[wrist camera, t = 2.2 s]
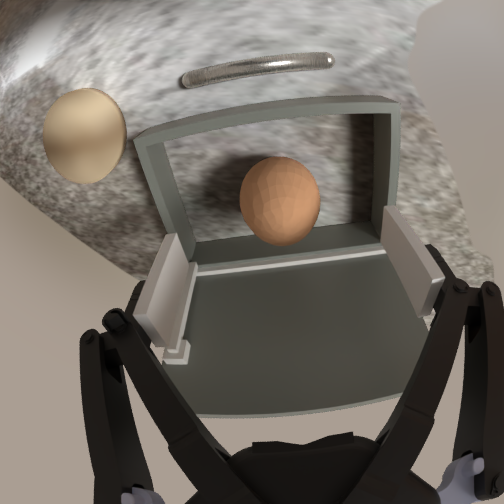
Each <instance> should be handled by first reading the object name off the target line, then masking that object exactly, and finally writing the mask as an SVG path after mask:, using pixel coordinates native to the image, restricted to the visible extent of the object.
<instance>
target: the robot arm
mask: <svg viewBox="0 0 504 504" xmlns="http://www.w3.org/2000/svg"><path fill="white" fill-rule="evenodd" d="M380 242H381V244H382V246H383V248H384V250H385V251H386V253H387V255H388V257H389V259H390V261H391V263H392V265H393V266H394V268H395V270H396V272H397V274H398V276H399V278H400V280H401V282H402V284H403V286H404V288H405V291H406V293H407V295H408V297H409V299H410V301H411V303H412V305H413V308H414V310H415V312H416V314H417V317H418V318H420V317H424V316H428V315H430V314H431V311H432V309H433V308H434V310H435V312H436V314H435V316H434V318H433V321H432V323H431V325H430V326H431V328H430V331H429V333H428V336H427V339H426V341H425V344H424V346H423V349H422V352H421V354H420V356H419V359H418V361H417V364H416V366H415V368H414V370H413V373H412V375H411V377H410V379H409V381H408V383H407V385H406V388H405V390H404V392H403V394H402V396H401V398H400V400H399V402H398V403H397V405H396V407H395V409H394V411H393V413H392V415H391V416H390V418H389V420H388V422H387V423H386V425H385V426H384V428H383V429H382V431H381V432H380V433H379V435H378V437H377V438H376V440H375V441H373V440H370V439H368V438H365V437H360V436H353V432H348V433H343V434H337V435H331V436H327V437H324V438H322V439H319V440H316V441H313V442H311V443H308V444H305V445H299V444H291V443H285V442H279V441H272V442H271V441H270V442H253V443H252V447H248V448H245V449H243V450H241V451H239V452H237V453H236V454H234V455H233V456H231V455H230V454H229V453H228V452H227V451H226V450H225V449H224V448H223V447H222V446H221V445H220V444H219V443H218V441H217V440H216V439H215V438H214V437H213V436H212V434H211V433H210V432H209V431H208V430H207V428H206V427H205V426H204V424H203V423H202V422H201V421H200V419H199V418H198V417H197V415H196V414H195V413H194V411H193V410H192V409H191V407H190V406H189V405H188V403H187V402H186V400H185V399H184V398H183V396H182V395H181V393H180V392H179V391H178V389H177V388H176V386H175V385H174V383H173V382H172V380H171V379H170V377H169V376H168V374H167V373H166V371H165V370H164V368H163V367H162V365H161V364H160V362H159V361H158V359H157V357H156V356H155V354H154V353H153V351H152V349H151V348H150V344H151V341H152V343H153V344H154V345H155V347H169V342H170V338H171V334H172V330H173V326H174V322H175V318H176V314H177V310H178V306H179V302H180V298H181V294H182V291H183V287H184V283H185V280H186V276H187V272H188V269H189V263H188V261H187V258H186V256H185V253H184V251H183V248H182V246H181V243H180V241H179V238H178V235H177V233H172V234H166V235H165V237H164V240H163V242H162V244H161V246H160V249H159V251H158V253H157V255H156V258H155V260H154V262H153V265H152V267H151V270H150V272H149V274H148V277H147V279H146V280H143V281H140V282H139V283H138V284H137V286H135V288H134V290H133V293H132V296H131V298H130V301H129V303H128V305H127V307H126V310H125V312H123V311H122V309H119V308H115V309H112V310H109V311H108V312H107V313H106V314H105V315H104V317H103V319H102V325H103V326H104V327H105V329H106V330H107V332H104V333H101V334H99V333H98V331H96V330H95V329H90V330H87V331H86V332H85V333H84V334H83V335H82V336H81V338H80V380H81V394H82V405H83V414H84V422H85V429H86V436H87V442H88V447H89V453H90V458H91V463H92V468H93V472H94V476H95V480H94V504H165V502H164V501H163V499H162V498H161V496H160V495H159V494H158V493H156V492H154V488H153V483H152V479H151V476H150V472H149V469H148V466H147V463H146V460H145V457H144V454H143V450H142V447H141V443H140V440H139V437H138V433H137V429H136V425H135V421H134V417H133V413H132V409H131V404H130V400H129V395H128V390H127V385H126V381H125V375H124V369H123V365H124V366H125V368H126V370H127V372H128V374H129V376H130V378H131V380H132V382H133V384H134V386H135V388H136V390H137V392H138V394H139V395H140V397H141V399H142V401H143V403H144V405H145V406H146V408H147V410H148V412H149V413H150V415H151V417H152V419H153V420H154V422H155V423H156V425H157V426H158V428H159V430H160V431H161V433H162V435H163V436H164V438H165V439H166V441H167V443H168V445H169V446H168V449H169V452H170V453H171V455H172V456H173V458H174V459H175V461H176V462H177V464H178V465H179V466H180V468H181V469H182V471H183V472H184V473H185V475H186V476H187V477H188V479H189V480H190V481H191V483H192V484H193V485H194V486H195V488H196V489H197V490H198V491H197V492H196V493H195V494H194V495H193V496H192V497H191V498H190V499H189V500H188V501H187V502H186V503H185V504H471V503H473V502H479V501H484V500H489V499H493V498H496V497H499V496H500V495H501V494H503V492H504V307H503V301H502V296H501V292H500V289H499V287H498V286H497V285H496V284H495V283H493V282H490V281H486V282H483V284H482V286H481V288H473V287H469V285H468V284H467V283H466V282H465V281H463V280H462V279H458V278H456V277H455V275H454V274H453V272H452V271H451V269H450V268H449V266H448V265H447V263H446V262H445V260H444V259H443V257H441V254H440V253H439V251H438V250H437V249H436V248H435V247H433V246H432V245H431V244H428V245H424V244H423V242H422V241H421V240H420V238H419V237H418V235H417V234H416V233H415V231H414V230H413V229H412V227H411V226H410V224H409V223H408V222H407V220H406V219H405V218H404V217H403V215H402V214H401V213H400V211H399V210H398V209H397V208H396V206H395V205H390V206H384V211H383V221H382V230H381V239H380ZM464 325H465V361H464V362H465V363H464V380H463V392H462V400H461V408H460V415H459V421H458V427H457V433H456V438H455V443H454V449H453V459H452V463H450V464H449V465H448V467H447V468H446V470H445V472H444V474H443V478H442V482H441V484H440V486H439V487H438V488H437V489H436V490H435V489H434V488H433V487H432V486H431V485H429V484H428V483H427V482H425V481H424V480H423V479H421V478H420V477H419V476H417V475H416V474H415V473H413V472H412V471H411V470H410V469H411V467H412V466H413V464H414V462H415V461H416V459H417V457H418V455H419V453H420V451H421V450H422V448H423V446H424V444H425V442H426V439H427V438H428V436H429V434H430V431H431V429H432V427H433V424H434V420H435V419H434V414H435V412H436V409H437V407H438V405H439V402H440V399H441V397H442V395H443V392H444V389H445V387H446V384H447V381H448V378H449V375H450V372H451V369H452V366H453V363H454V360H455V356H456V353H457V349H458V346H459V342H460V338H461V334H462V330H463V326H464Z"/></svg>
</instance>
